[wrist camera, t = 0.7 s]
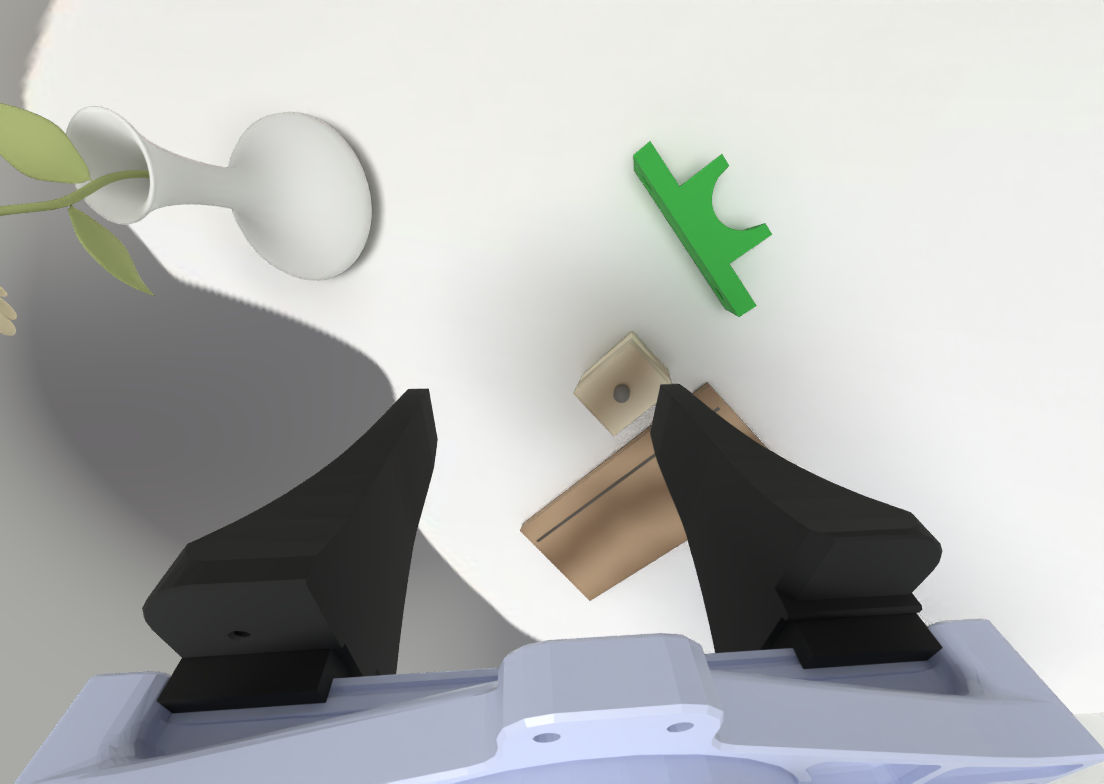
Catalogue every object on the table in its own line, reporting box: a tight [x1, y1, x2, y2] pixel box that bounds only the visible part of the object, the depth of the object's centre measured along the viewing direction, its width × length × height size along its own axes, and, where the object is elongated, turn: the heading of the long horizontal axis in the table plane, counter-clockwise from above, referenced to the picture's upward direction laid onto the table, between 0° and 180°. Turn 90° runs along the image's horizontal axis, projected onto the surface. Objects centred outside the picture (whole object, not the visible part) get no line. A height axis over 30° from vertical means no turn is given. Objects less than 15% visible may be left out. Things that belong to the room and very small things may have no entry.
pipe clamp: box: [633, 141, 772, 317], centre depth 26 cm, size 11×4×5 cm, turn 37°
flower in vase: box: [0, 103, 372, 336], centre depth 21 cm, size 13×11×25 cm
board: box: [520, 382, 767, 601], centre depth 34 cm, size 9×20×1 cm, turn 135°
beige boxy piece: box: [573, 331, 672, 436], centre depth 29 cm, size 4×5×6 cm
